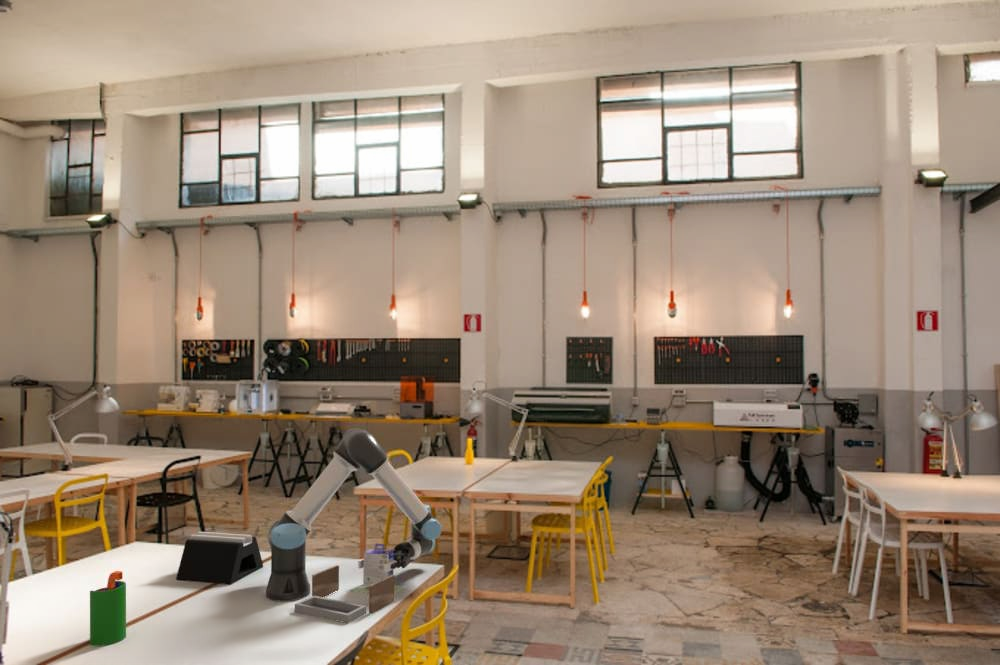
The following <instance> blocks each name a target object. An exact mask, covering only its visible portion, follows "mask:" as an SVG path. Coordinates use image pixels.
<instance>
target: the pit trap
mask: <svg viewBox="0 0 1000 665" xmlns="http://www.w3.org/2000/svg"><path fill="white" fill-rule="evenodd" d="M294 613H299V614H302V615H303V614H304V615H308V616H312V617H317V618H321V617H323V618H322V619H326V618H327V620H330V619H332V620H331V621H335V620H338V621H337V622H340V621H343V622H342V623H344V622H347V623H346V624H350V623H351V622H353V621H355V620H358V619H359V618H360V617H362V616H363V617H364V616H365V615H366V614H367V606H366V605H362V604H359V603H353V602H347V601H344V600H343V601H342V600H338V599H332V598H328V597H324V598H323V597H318V596H312V595H311V596H310V597H308V598H305V599H304V600H300V601H299V602H296V603H295V604H294ZM364 614H365V615H364ZM350 621H351V622H350ZM349 622H350V623H349Z"/></svg>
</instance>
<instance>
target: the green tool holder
mask: <svg viewBox="0 0 1000 665" xmlns="http://www.w3.org/2000/svg"><path fill="white" fill-rule="evenodd" d="M126 637H127V583H126V582H125V581H123V571H120V570H115V571H113V572H111V573H110V574H109V575H108V579H107V584H106V587H101V588H98V589H96V590H89V645H90V646H93V647H94V646H97V647H99V646H108V645H113V644H116V643H118V642H121V641H123V640H124V639H125V638H126Z"/></svg>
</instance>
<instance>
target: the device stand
mask: <svg viewBox="0 0 1000 665" xmlns="http://www.w3.org/2000/svg"><path fill="white" fill-rule="evenodd" d="M263 567H264V564H263V560H262V556H261V551H260V547H259V544H258V540H257V537H256V536H253V535H252V534H241V533H240V534H239V533H238V534H237V533H227V532H226V533H224V532H211V531H210V532H208V531H198V532H197V534H190V538H187V539H186V540H185V543H184V547H183V550H182V554H181V558H180V562H179V567H178V570H177V574H176V577H175V579H176V581H180V582H181V581H183V582H193V583H195V582H196V583H204V584H205V583H209V584H219V585H220V584H221V585H228V586H229V585H230V586H231V585H233V584H235V583H236V582H238V581H240V580H243V579H244V578H246V577H248V576H249V575H251V574H253V573H255V572H257V571H258V570H260V569H263Z"/></svg>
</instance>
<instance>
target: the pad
mask: <svg viewBox="0 0 1000 665" xmlns="http://www.w3.org/2000/svg"><path fill="white" fill-rule="evenodd" d="M405 589H407V587H406V586H403V585H399V584H398V585H397V584H395V593H396V594H397V593H399V592H402V591H403V590H405ZM350 590H352V591H351V592H354V591H357V592H356V593H359V592H362V593H361V594H364V593H367V594H366V595H369V587H366V586H363V583H362V584H359V585H357V586H355V587H353V588H351V589H350ZM395 593H394V595H395Z"/></svg>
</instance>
